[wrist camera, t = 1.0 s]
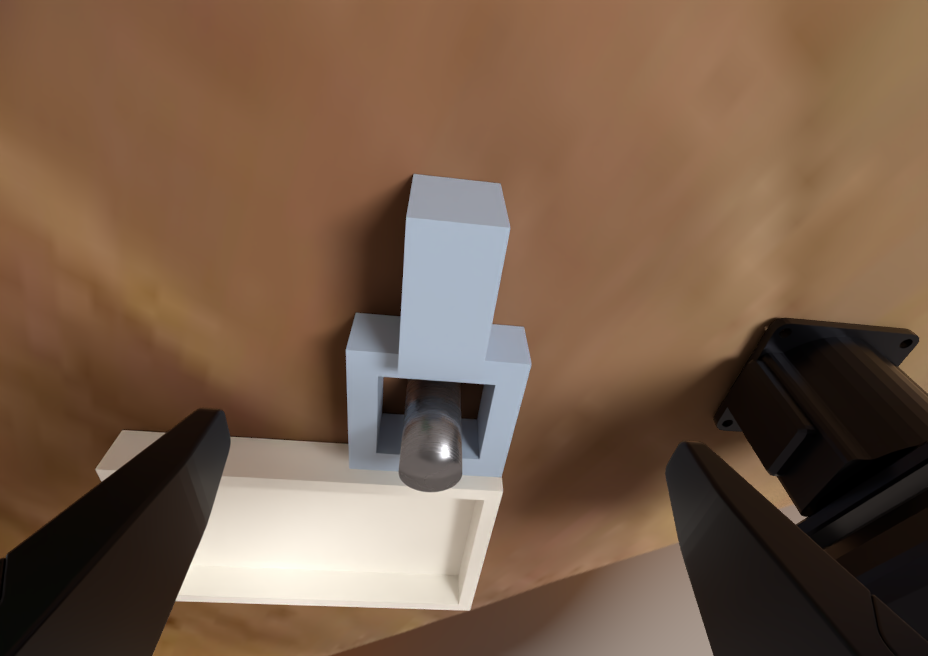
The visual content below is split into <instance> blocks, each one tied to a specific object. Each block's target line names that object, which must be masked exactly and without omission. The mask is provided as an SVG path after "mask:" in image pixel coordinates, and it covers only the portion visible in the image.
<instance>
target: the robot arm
mask: <svg viewBox="0 0 928 656" xmlns="http://www.w3.org/2000/svg"><path fill="white" fill-rule="evenodd" d="M783 329H784V330H783ZM782 330H783V331H782ZM918 342H919V337H918V336H917V335H916V334H915V333H913V332H912V331H911V330H909V329H903V328H892V327H881V326H870V325H859V324H848V323H837V322H826V321H815V320H804V319H793V318H781V319H778V320H776V321H774V322H773V323H772V324H771V325H770V326H769V327H768V329H767V331H766V332H765V334H764V336H763V337H762V339H761V341H760V342H759V344H758V346H757V347H756V349H755V350H754V352H753V354H752V355H751V357H750V359H749V360H748V362H747V364H746V365H745V367H744V368H743V370H742V372H741V373H740V375H739V377H738V378H737V380H736V382H735V383H734V385H733V387H732V388H731V390H730V391H729V393H728V395H727V396H726V398H725V400H724V401H723V403H722V405H721V406H720V408H719V409H718V411H717V413H716V414H715V416H714V419H713V420H714V422H715V424H716V426H717V428H718V429H720V430H725V431H740V432H743V433H744V435H745V437H746V438H747V440H748V442H749V443H750V445H751V446H752V448H753V450H754V451H755V453H756V455H757V456H758V458H759V459H760V461H761V463H762V464H763V466H764V467H765V469H766V471H767V472H768V473H769V474H770V475H772V476H777V478H778V479H779V481H780V482H781V484H782V485H783V487H784V489H785V490H786V492H787V493H788V495H789V497H790V498H791V500H792V501H793V503H794V505H795V506H796V508H797V509H798V511H799V513H800V514H801V515H802V516H805V517H807V518H805V519H804V520H802V521H801V522H799V523H798V524H796V525H795V524H794V523H793V522H792V521H791V520H790V519H789V518H788V517H786V516H785V515H784V514H783V513H782V512H781V511H780V510H779V509H777V508H776V507H775V506H774V505H773V504H772V503H771V502H770V501H768V500H767V499H766V498H765V497H764V496H763V495H762V494H761V493H760V492H758V491H757V490H756V489H755V488H754V487H753V486H752V485H751V484H749V483H748V482H747V481H746V480H745V479H744V478H743V477H742V476H740V475H739V474H738V473H737V472H736V471H735V470H734V469H733V468H732V467H730V466H729V465H728V464H727V463H726V462H725V461H724V460H723V459H721V458H720V457H719V456H718V455H717V454H716V453H715V452H714V451H712V450H711V449H710V448H709V447H708V446H707V445H706V444H704V443H702V442H698V441H682V442H680V443H679V445H678V446H677V448H676V450H675V451H674V453H673V455H672V457H671V458H670V460H669V462H668V464H667V466H666V472H665V474H666V481H667V486H668V491H669V496H670V501H671V506H672V511H673V516H674V521H675V526H676V531H677V536H678V540H679V545H680V549H681V552H682V555H683V559H684V562H685V565H686V569H687V572H688V575H689V578H690V581H691V584H692V588H693V591H694V594H695V598H696V601H697V604H698V607H699V610H700V614H701V617H702V620H703V623H704V626H705V629H706V633H707V636H708V639H709V642H710V646H711V649H712V652H713V655H714V656H928V394H927V393H926V392H925V391H924V390H923V389H922V388H921V387H920V386H919V385H917V384H916V383H915V382H914V381H913V380H912V379H911V378H910V377H909V376H908V375H907V374H905V373H904V372H903V371H902V370H901V369H900V368H899V367H898V366H899V365H900V364H901V363H902V361H903V360H904V359H905V358H906V357H907V356H908V354H909V353H910V352H911V351H912V350H913V349H914V347H915V346H916V345H917V344H918ZM230 445H231V438H230V433H229V429H228V425H227V421H226V417H225V414H224V412H223V410H221V409H215V408H199V409H197V410H195V411H194V412H193V413H191V414H190V415H189V416H187V417H186V418H185V419H183V420H182V421H181V422H180V423H178V424H177V425H176V426H174V427H173V428H172V429H170V430H169V431H168V432H166V433H165V434H164V435H162V436H161V437H160V438H158V439H157V440H156V441H155V442H153V443H152V444H151V445H149V446H148V447H147V448H145V449H144V450H143V451H141V452H140V453H139V454H137V455H136V456H135V457H134V458H132V459H131V460H130V461H128V462H127V463H126V464H124V465H123V466H122V467H120V468H119V469H118V470H116V471H115V472H114V473H112V474H111V475H110V476H109V477H107V478H106V479H105V480H103V481H102V482H101V483H99V484H98V485H97V486H95V487H94V488H93V489H91V490H90V491H89V492H87V493H86V494H85V495H84V496H82V497H81V498H80V499H78V500H77V501H76V502H74V503H73V504H72V505H70V506H69V507H68V508H66V509H65V510H64V511H63V512H61V513H60V514H59V515H57V516H56V517H55V518H53V519H52V520H51V521H49V522H48V523H47V524H45V525H44V526H43V527H41V528H40V529H39V530H38V531H36V532H35V533H34V534H32V535H31V536H30V537H28V538H27V539H26V540H24V541H23V542H22V543H20V544H19V545H18V546H16V547H15V548H14V549H13V550H11V551H10V552H9V553H7V555H6V558H1V559H0V656H152V655H153V652H154V650H155V648H156V645H157V643H158V641H159V638H160V636H161V634H162V631H163V629H164V626H165V624H166V622H167V619H168V617H169V615H170V612H171V610H172V608H173V605H174V603H175V601H176V598H177V596H178V593H179V591H180V589H181V586H182V584H183V582H184V579H185V577H186V575H187V572H188V570H189V567H190V565H191V563H192V560H193V558H194V556H195V553H196V551H197V549H198V546H199V544H200V542H201V539H202V537H203V534H204V532H205V529H206V527H207V524H208V521H209V517H210V514H211V511H212V508H213V504H214V501H215V498H216V494H217V491H218V487H219V484H220V481H221V477H222V474H223V471H224V467H225V464H226V460H227V457H228V454H229V450H230Z"/></svg>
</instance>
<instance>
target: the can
mask: <svg viewBox="0 0 928 656" xmlns="http://www.w3.org/2000/svg"><path fill="white" fill-rule="evenodd" d="M398 472H399V477H400V479H401V480H402V482H403V483H404V484H405V485H407V486H408V487H410V488H412V489H415V490H418V491H422V492H439V491H444V490H447V489H449V488H451V487H453V486H455V485H456V484H457V483H458V482H459V481H460V479H461V477H462V430H461V387H460V382H448V381H435V380H421V379H408V382H407V392H406V402H405V412H404V422H403V431H402V441H401V451H400V461H399V471H398Z"/></svg>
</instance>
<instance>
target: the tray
mask: <svg viewBox="0 0 928 656" xmlns="http://www.w3.org/2000/svg"><path fill="white" fill-rule="evenodd" d="M164 434H165V433H163V432H146V431H130V430H122V431H121V433H120V434H119V436H118V437H117V438H116V440H115V441H114V443H113V444H112V446H111V447H110V448H109V450H108V451H107V453H106V454H105V456H104V457H103V459H102V460H101V461H100V463H99V464H98V466H97V467H96V469H95V470H96V472H97V474H98V476H99V478H100V480H101V482H102V481H103V480H105V479H106V478H107V477H109V476H110V475H111V474H112V473H114V472H115V471H116V470H118V469H119V468H120V467H122V466H123V465H124V464H126V463H127V462H128V461H130V460H131V459H132V458H134V457H135V456H136V455H137V454H139V453H140V452H141V451H143V450H144V449H145V448H147V447H148V446H149V445H151V444H152V443H153V442H155V441H156V440H157V439H158V438H160V437H161V436H162V435H164ZM230 438H231V445H230V450H229V454H228V457H227V460H226V464H225V467H224V471H223V474H222V477H221V481H220V484H219V487H218V491H217V494H216V498H215V501H214V504H213V508H212V511H211V514H210V517H209V521H208V524H207V527H206V529H205V532H204V534H203V537H202V539H201V542H200V544H199V546H198V549H197V551H196V553H195V556H194V558H193V560H192V563H191V565H190V567H189V570H188V572H187V575H186V577H185V579H184V582H183V584H182V586H181V589H180V591H179V593H178V596H177V598H176V601H189V602H220V603H251V604H281V605H312V606H343V607H374V608H405V609H436V610H467V611H470V609H471V605H472V601H473V598H474V594H475V591H476V587H477V584H478V580H479V576H480V573H481V569H482V566H483V562H484V558H485V555H486V551H487V548H488V544H489V540H490V537H491V533H492V530H493V526H494V523H495V519H496V515H497V512H498V508H499V505H500V501H501V497H502V494H503V485H502V477H486V476H468V475H462V477H461V479H460V481H459V482H458V483H457V484H456V485H455V486H453V487H451V488H449V489H447V490H444V491H439V492H422V491H418V490H415V489H412V488H410V487H408V486H407V485H405V484H404V483H403V482H402V480H401V479H400V477H399V472H398V471H380V470H363V469H349V444H342V443H325V442H309V441H293V440H277V439H260V438H244V437H230Z"/></svg>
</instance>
